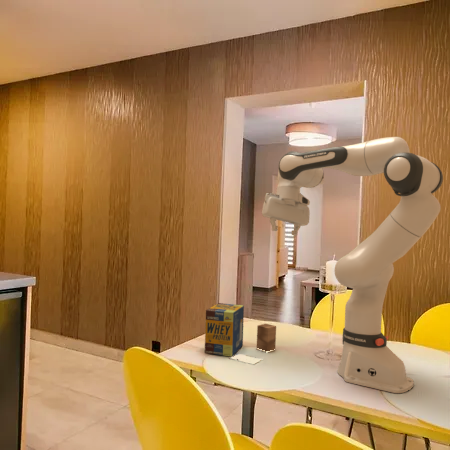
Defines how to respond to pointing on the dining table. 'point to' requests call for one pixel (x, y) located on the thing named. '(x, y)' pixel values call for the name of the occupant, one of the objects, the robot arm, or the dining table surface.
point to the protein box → (224, 329)
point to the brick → (266, 337)
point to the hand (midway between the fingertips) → (284, 233)
